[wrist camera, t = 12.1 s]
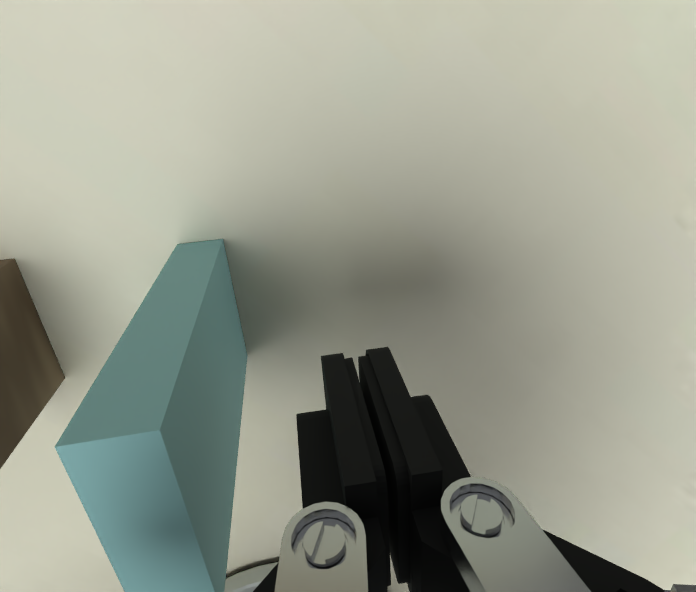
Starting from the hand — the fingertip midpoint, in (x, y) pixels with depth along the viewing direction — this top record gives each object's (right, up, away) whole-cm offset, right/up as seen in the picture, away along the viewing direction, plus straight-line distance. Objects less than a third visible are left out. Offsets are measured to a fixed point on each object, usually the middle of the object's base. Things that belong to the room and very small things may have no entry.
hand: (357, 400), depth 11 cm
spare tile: (-5, +2, +6) cm, 8 cm away
